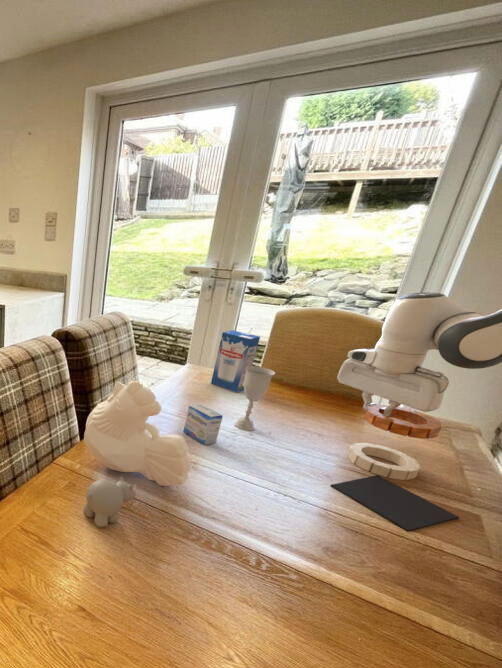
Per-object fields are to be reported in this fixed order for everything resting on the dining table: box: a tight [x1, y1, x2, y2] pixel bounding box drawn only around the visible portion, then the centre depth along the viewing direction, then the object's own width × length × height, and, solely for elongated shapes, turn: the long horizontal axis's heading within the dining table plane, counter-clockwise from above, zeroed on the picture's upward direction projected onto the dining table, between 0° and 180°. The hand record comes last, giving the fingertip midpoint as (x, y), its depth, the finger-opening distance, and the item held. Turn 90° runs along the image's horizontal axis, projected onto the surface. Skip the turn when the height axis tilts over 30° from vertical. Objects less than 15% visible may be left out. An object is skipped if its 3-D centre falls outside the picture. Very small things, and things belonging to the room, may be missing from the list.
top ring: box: [363, 403, 442, 440], centre depth 95 cm, size 13×13×2 cm
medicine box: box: [182, 403, 224, 446], centre depth 110 cm, size 8×4×9 cm, turn 21°
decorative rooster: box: [83, 380, 192, 487], centre depth 90 cm, size 25×16×25 cm
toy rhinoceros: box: [82, 476, 137, 528], centre depth 81 cm, size 7×12×8 cm, turn 114°
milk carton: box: [210, 329, 261, 393], centre depth 143 cm, size 10×6×20 cm, turn 30°
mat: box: [330, 474, 460, 533], centre depth 86 cm, size 15×15×1 cm
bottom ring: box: [346, 442, 421, 481], centre depth 99 cm, size 13×13×2 cm
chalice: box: [234, 365, 276, 432], centre depth 115 cm, size 7×7×18 cm
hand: (375, 412), depth 100 cm, fingers closed on top ring, 2 cm apart
